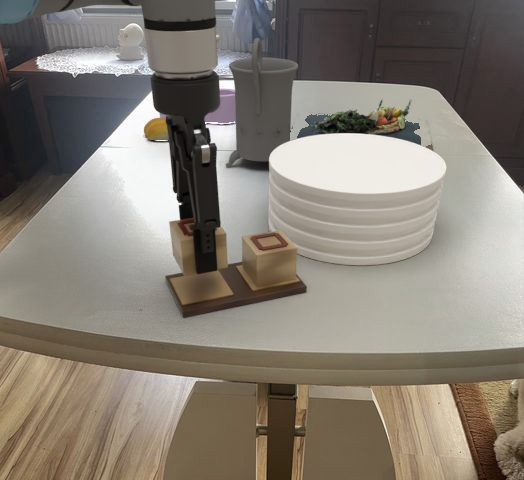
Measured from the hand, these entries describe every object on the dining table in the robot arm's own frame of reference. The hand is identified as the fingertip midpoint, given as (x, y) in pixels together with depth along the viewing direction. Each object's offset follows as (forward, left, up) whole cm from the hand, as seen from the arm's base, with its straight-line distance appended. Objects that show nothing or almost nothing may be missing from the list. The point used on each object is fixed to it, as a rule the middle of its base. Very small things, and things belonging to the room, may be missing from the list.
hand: (199, 259), depth 74 cm
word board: (+5, 0, -5) cm, 7 cm away
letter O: (+10, 0, -4) cm, 11 cm away
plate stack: (+30, +12, -6) cm, 33 cm away
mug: (+27, +46, -6) cm, 54 cm away
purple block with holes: (+24, +84, -6) cm, 88 cm away
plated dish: (+59, +60, -6) cm, 84 cm away
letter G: (0, 0, 0) cm, 0 cm away
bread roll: (+11, +73, -6) cm, 74 cm away
